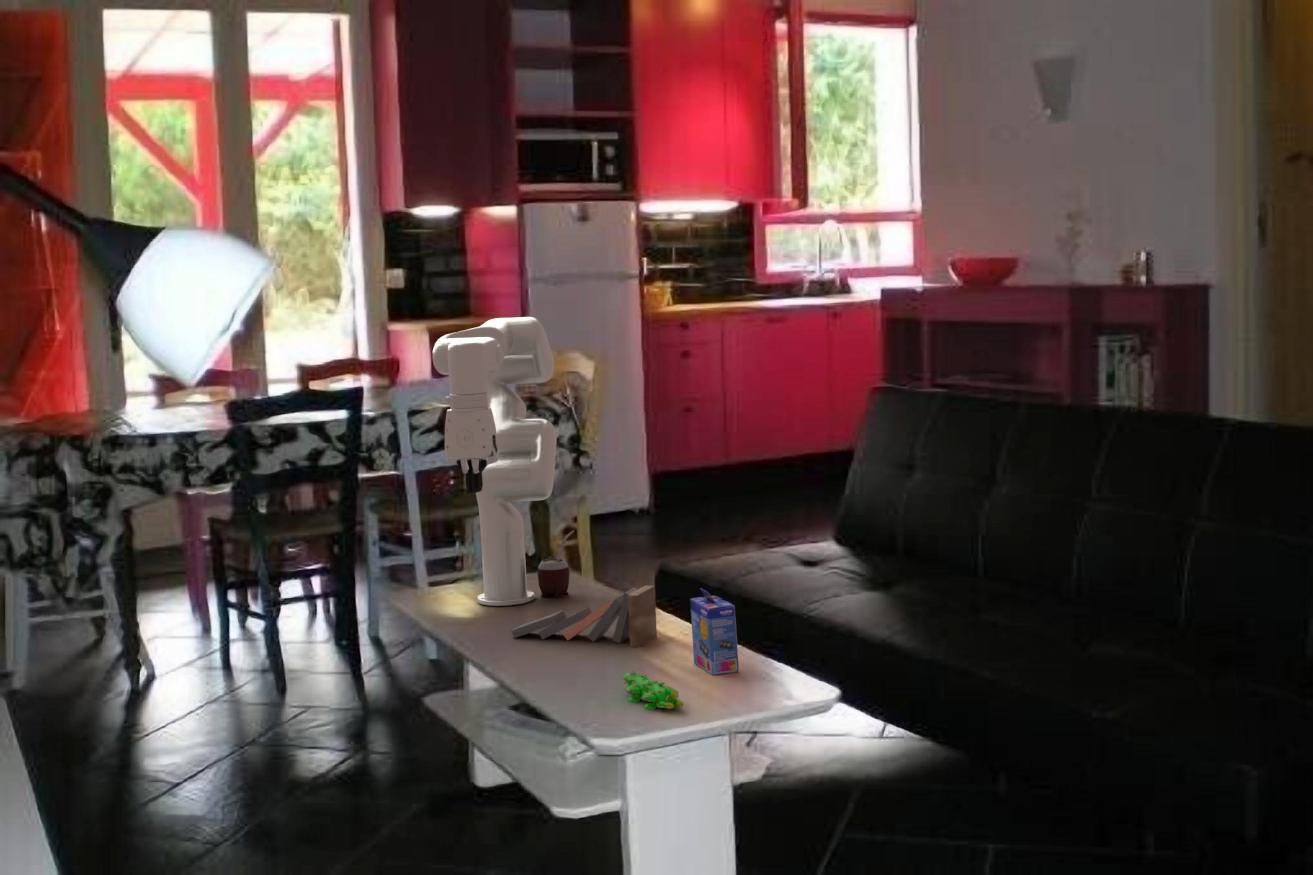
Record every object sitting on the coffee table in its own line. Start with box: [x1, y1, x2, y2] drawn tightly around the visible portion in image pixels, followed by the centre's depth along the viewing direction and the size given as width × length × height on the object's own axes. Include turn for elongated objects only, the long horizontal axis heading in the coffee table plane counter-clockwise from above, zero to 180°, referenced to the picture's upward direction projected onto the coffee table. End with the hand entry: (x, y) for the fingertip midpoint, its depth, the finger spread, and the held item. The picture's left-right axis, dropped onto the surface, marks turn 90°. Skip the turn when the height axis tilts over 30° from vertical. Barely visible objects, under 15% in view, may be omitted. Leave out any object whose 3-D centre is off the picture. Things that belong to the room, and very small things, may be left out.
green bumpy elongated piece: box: [621, 670, 684, 711], centre depth 263 cm, size 7×18×4 cm, turn 29°
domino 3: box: [562, 601, 612, 641], centre depth 310 cm, size 2×5×10 cm
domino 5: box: [611, 587, 639, 644], centre depth 307 cm, size 2×5×10 cm, turn 159°
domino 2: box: [538, 606, 593, 640], centre depth 312 cm, size 2×5×10 cm
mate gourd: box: [536, 529, 575, 600], centre depth 351 cm, size 8×8×15 cm
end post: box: [628, 585, 658, 648], centre depth 305 cm, size 2×9×10 cm, turn 159°
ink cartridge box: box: [689, 588, 740, 676], centre depth 283 cm, size 10×6×14 cm, turn 19°
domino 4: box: [587, 593, 624, 643], centre depth 308 cm, size 2×5×10 cm
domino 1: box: [510, 610, 567, 639], centre depth 314 cm, size 2×5×10 cm
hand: (474, 491), depth 320 cm, fingers closed
